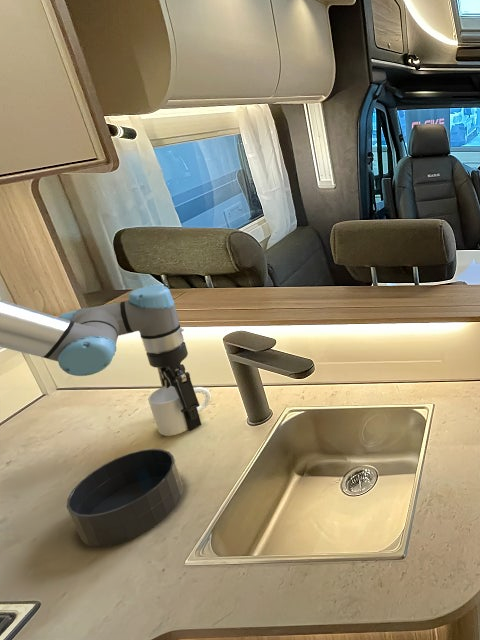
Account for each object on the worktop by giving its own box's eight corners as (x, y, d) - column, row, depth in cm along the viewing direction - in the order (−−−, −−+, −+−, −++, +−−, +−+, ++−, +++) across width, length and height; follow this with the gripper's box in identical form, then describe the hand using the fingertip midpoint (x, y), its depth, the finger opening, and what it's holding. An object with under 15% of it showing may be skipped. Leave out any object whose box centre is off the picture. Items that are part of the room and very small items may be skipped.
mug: (210, 403, 116) (202, 372, 112) (219, 417, 111) (210, 385, 107) (156, 425, 107) (145, 392, 104) (162, 442, 102) (151, 408, 99)
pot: (69, 518, 83) (55, 488, 80) (165, 465, 96) (156, 438, 93) (95, 564, 75) (81, 533, 72) (196, 499, 88) (187, 470, 85)
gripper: (202, 353, 99) (222, 428, 107) (166, 327, 110) (186, 397, 117) (164, 368, 93) (188, 446, 101) (130, 339, 104) (153, 412, 111)
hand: (187, 420), depth 109 cm, fingers closed on mug, 8 cm apart
